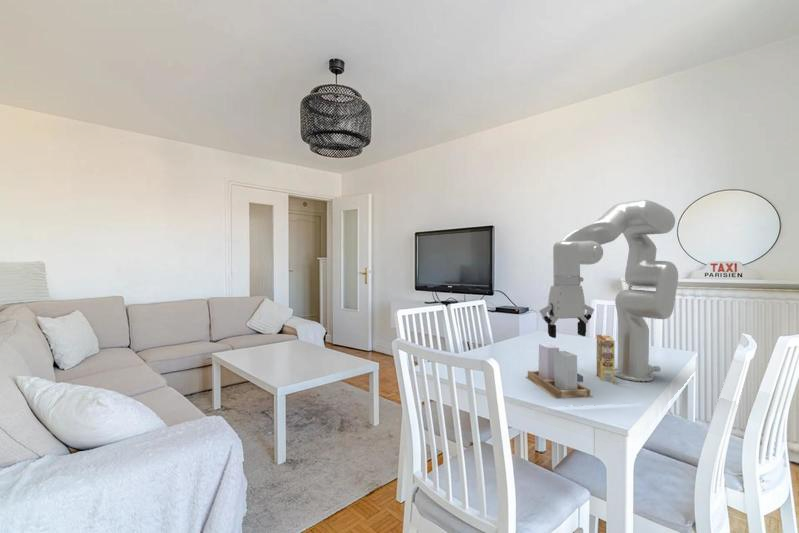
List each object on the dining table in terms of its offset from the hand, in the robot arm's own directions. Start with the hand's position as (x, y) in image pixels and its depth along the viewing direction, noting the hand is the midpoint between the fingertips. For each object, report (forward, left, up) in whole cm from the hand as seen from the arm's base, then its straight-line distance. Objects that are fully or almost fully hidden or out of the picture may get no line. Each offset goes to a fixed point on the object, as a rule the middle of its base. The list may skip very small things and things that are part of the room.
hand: (567, 336), depth 114 cm
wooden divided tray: (+1, -5, -19) cm, 19 cm away
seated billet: (+1, -10, -17) cm, 20 cm away
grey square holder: (-8, -11, -19) cm, 23 cm away
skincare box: (+1, 0, -18) cm, 18 cm away
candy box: (-21, -12, -19) cm, 31 cm away
